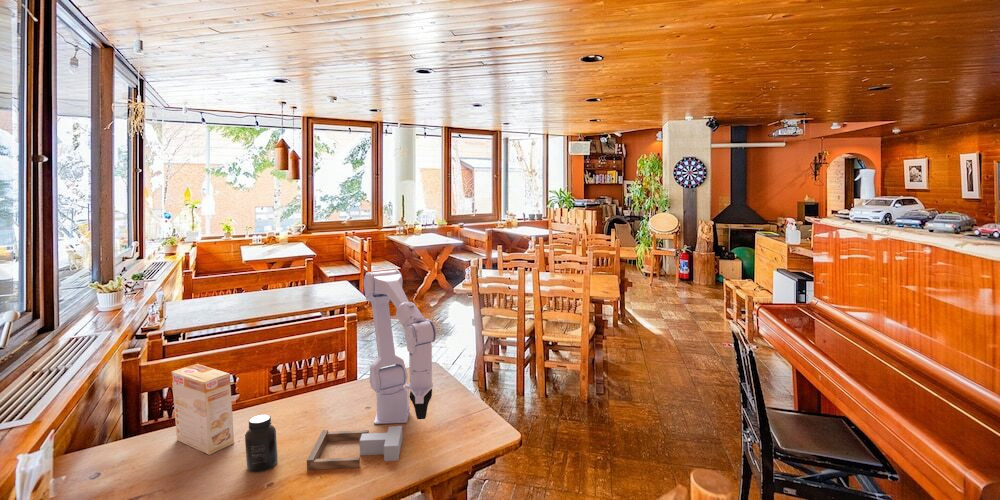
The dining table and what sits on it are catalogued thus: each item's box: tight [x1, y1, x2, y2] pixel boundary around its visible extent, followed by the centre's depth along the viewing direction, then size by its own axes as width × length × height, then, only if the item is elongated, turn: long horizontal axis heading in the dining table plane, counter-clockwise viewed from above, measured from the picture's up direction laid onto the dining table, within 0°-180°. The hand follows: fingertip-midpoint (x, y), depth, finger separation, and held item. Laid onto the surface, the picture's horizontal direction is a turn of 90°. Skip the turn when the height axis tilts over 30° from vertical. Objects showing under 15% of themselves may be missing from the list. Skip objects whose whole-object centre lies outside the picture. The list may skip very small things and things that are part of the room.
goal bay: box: [306, 429, 370, 471], centre depth 123 cm, size 12×14×2 cm
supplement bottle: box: [244, 414, 278, 473], centre depth 116 cm, size 7×7×12 cm
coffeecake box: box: [170, 363, 235, 456], centre depth 126 cm, size 15×7×20 cm, turn 62°
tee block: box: [359, 425, 403, 462], centre depth 124 cm, size 10×10×4 cm
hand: (421, 417), depth 124 cm, fingers closed
